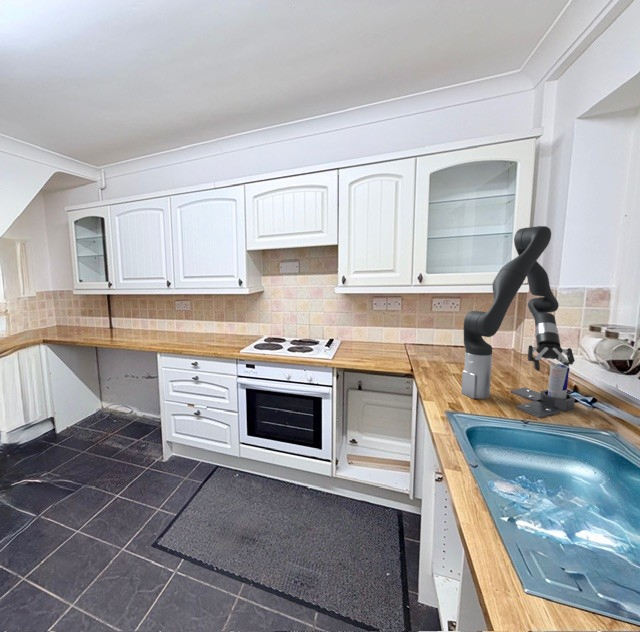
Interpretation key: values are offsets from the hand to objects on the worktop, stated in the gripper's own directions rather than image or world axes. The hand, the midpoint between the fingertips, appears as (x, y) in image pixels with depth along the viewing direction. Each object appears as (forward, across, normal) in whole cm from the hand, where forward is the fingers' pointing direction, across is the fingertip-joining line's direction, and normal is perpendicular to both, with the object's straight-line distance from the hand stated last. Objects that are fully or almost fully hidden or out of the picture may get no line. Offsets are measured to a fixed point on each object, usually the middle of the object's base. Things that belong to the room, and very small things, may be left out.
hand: (552, 371), depth 112 cm
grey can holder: (+14, -7, 0) cm, 15 cm away
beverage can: (+14, 0, 0) cm, 14 cm away
